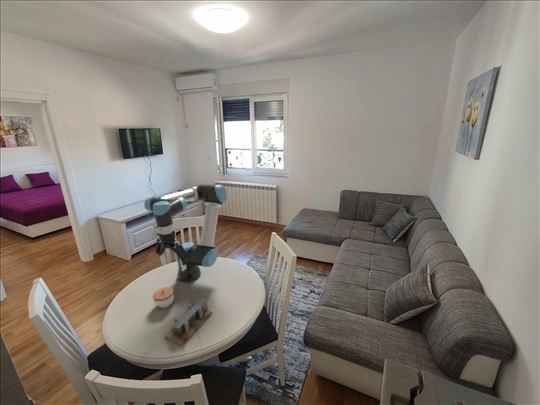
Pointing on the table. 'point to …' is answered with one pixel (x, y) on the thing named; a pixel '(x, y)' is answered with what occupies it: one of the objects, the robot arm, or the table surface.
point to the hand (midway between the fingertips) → (174, 267)
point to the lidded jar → (163, 297)
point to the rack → (188, 330)
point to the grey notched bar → (189, 317)
